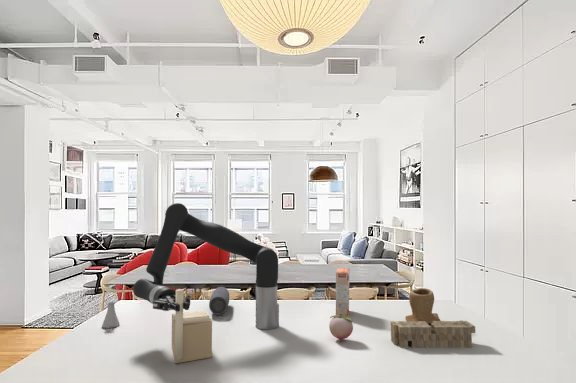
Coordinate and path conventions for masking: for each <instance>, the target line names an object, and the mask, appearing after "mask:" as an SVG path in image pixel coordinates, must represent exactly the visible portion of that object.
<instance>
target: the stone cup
mask: <svg viewBox="0 0 576 383" xmlns="http://www.w3.org/2000/svg"><path fill="white" fill-rule="evenodd" d="M408 299H409V305H410V308H411V314H410V315H406V316H405V317H404V318H405V321H413V322H414V321H417V322H418V321H425V322H426V323H427V324H428V325H431V323H433V321H441V319H440V317H439V313H437V312H435V313H433V307H434V303H435V296H434V292H433V291H432V290H431V289H429V288H426V287H425V288H424V287H419V288H415V289H412V290H410V292H409V297H408Z"/></svg>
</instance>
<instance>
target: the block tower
mask: <svg viewBox="0 0 576 383" xmlns="http://www.w3.org/2000/svg"><path fill="white" fill-rule="evenodd" d="M389 323H390V341H391V343H392V344H393V345H394V346H399V348H409V346H410V347H412V348H414V349H415V348H416V349H417V348H419V349H420V348H425V349H427V348H428V349H431V348H432V349H433V348H434V349H435V348H437V349H441V348H442V349H444V348H445V349H447V348H449V349H451V348H453V349H456V348H458V349H464V348H466V349H467V348H469V349H470V348H471V349H472V348H473V342H472V341H473V340H472V334H476V326H475V325H474V324H472V323H471V322H469V321H468V320H452V321H451V320H445V321H444V320H440V321H433V323H430V324H427V323H426V322H425V321H418V322H417V321H414V322H413V321H407V320H399V321H395V320H390V322H389Z"/></svg>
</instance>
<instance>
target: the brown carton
mask: <svg viewBox="0 0 576 383" xmlns="http://www.w3.org/2000/svg"><path fill="white" fill-rule="evenodd" d="M175 317H176V313H171V350H172V354H173V358H174V359H175ZM207 322H212V323H213V320H212V319H211V318H210V315H209V314H208V313H207V312H206V310H202V311H201V310H200V311H199V310H198V311H190V312H183V326H184V325H192V324H199V323H207Z"/></svg>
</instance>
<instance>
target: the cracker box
mask: <svg viewBox="0 0 576 383" xmlns="http://www.w3.org/2000/svg"><path fill="white" fill-rule="evenodd" d="M349 311H350V268H348V267H347V268H346V267H338V268H337V270H336V272H335V315H338V316H340V314H341V317H348V318H349V314H350V313H349Z"/></svg>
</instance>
